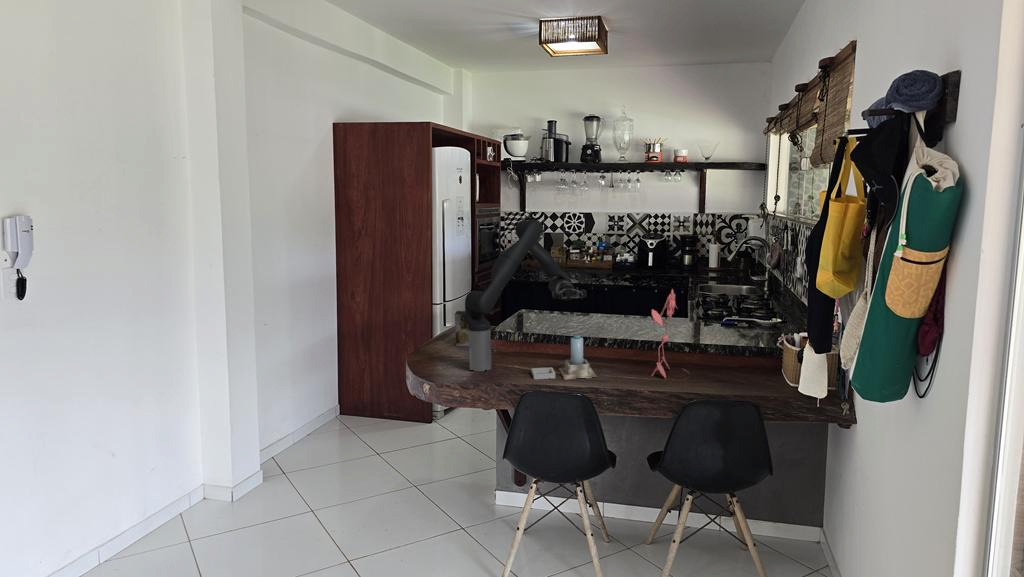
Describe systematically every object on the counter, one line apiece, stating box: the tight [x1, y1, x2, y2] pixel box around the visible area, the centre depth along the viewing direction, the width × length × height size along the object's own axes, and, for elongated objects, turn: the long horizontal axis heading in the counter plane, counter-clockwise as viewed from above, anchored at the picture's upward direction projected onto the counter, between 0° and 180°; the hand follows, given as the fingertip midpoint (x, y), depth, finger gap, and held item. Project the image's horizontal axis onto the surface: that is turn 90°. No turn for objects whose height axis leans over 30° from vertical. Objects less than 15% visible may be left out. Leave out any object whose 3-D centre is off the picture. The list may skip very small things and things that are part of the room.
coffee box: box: [454, 310, 469, 347], centre depth 341 cm, size 9×6×16 cm
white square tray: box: [531, 367, 556, 380], centre depth 289 cm, size 9×9×2 cm
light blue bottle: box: [570, 334, 584, 365], centre depth 289 cm, size 5×5×15 cm
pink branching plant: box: [646, 288, 690, 381], centre depth 284 cm, size 15×26×35 cm, turn 157°
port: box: [558, 358, 597, 380], centre depth 290 cm, size 13×13×5 cm
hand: (572, 297), depth 296 cm, fingers open, 8 cm apart
